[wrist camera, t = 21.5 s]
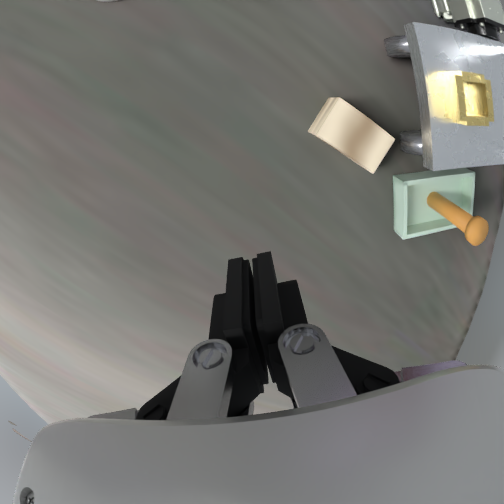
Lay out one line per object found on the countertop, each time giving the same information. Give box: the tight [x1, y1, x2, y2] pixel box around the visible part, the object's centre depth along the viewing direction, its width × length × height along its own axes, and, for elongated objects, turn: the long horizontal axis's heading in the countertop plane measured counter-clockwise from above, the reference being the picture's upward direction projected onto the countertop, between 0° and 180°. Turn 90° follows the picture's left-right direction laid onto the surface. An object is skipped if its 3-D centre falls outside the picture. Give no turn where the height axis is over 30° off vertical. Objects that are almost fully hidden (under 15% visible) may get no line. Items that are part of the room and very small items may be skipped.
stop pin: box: [427, 192, 489, 246], centre depth 31 cm, size 3×3×11 cm
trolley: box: [384, 22, 504, 171], centre depth 20 cm, size 17×16×21 cm
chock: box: [308, 97, 395, 174], centre depth 30 cm, size 8×5×4 cm, turn 61°
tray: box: [393, 168, 475, 240], centre depth 35 cm, size 13×8×3 cm, turn 102°
